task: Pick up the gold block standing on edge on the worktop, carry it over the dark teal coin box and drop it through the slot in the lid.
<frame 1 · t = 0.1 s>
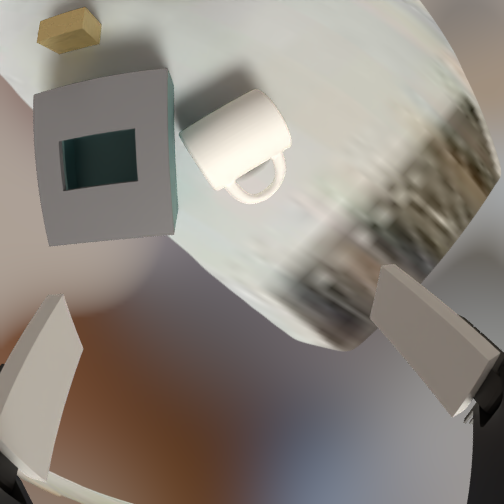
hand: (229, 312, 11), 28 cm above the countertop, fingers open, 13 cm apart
coin box: (120, 152, 32), on the countertop
gold block: (79, 39, 25), on the countertop
mug: (238, 151, 36), on the countertop
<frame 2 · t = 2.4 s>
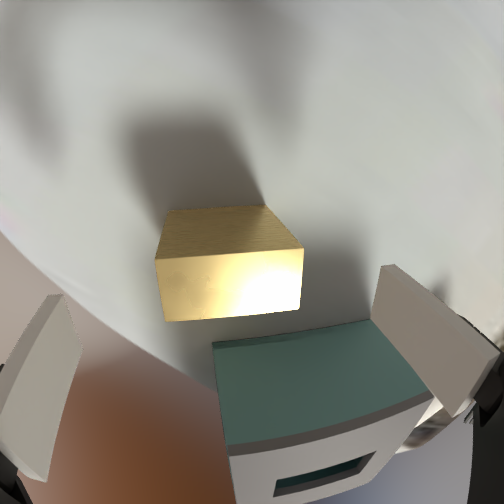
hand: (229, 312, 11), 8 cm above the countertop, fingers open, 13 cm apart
coin box: (290, 392, 26), on the countertop
gold block: (218, 230, 18), on the countertop
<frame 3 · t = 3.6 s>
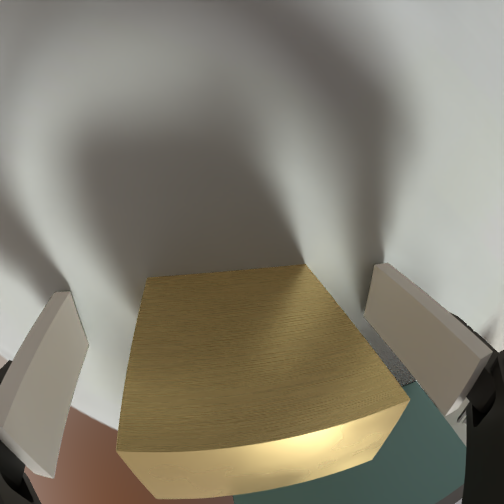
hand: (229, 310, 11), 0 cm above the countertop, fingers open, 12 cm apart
coin box: (313, 461, 19), on the countertop
gold block: (229, 305, 11), on the countertop
mug: (438, 412, 22), on the countertop
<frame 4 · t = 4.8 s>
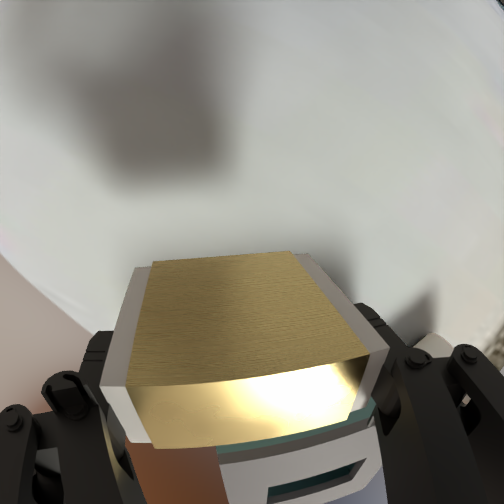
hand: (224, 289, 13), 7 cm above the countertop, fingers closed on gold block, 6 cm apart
coin box: (281, 403, 26), on the countertop
gold block: (223, 286, 13), point 6 cm above the countertop, touching gripper
mug: (397, 372, 30), on the countertop
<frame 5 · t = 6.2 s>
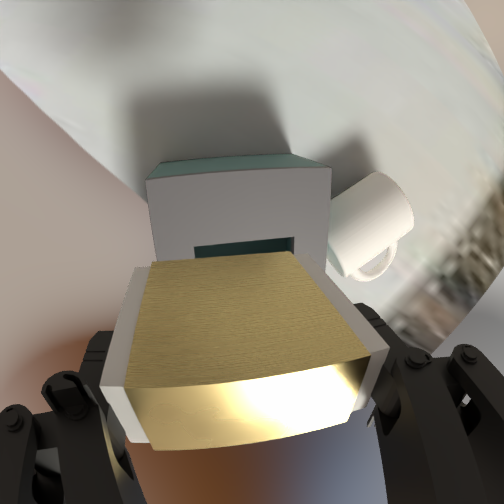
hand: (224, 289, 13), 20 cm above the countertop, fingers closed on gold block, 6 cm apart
coin box: (231, 227, 33), on the countertop
gold block: (223, 287, 13), point 20 cm above the countertop, touching gripper
mug: (349, 224, 36), on the countertop
when the fingers open (11 cm above the countertop, at t = 7.7 s): gold block drops 9 cm, resting on coin box.
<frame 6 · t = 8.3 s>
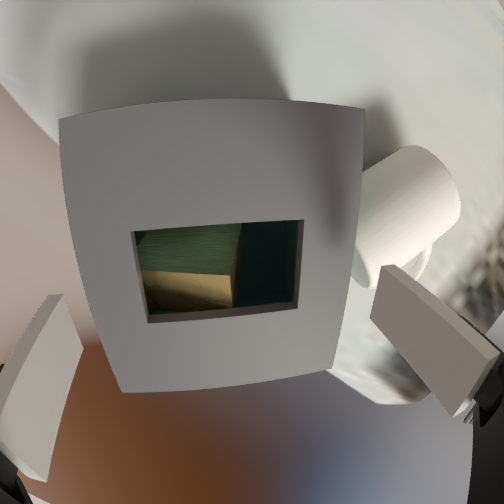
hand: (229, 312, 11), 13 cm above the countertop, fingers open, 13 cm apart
coin box: (208, 216, 23), on the countertop
gold block: (204, 227, 21), point 2 cm above the countertop, tilted 20°, touching coin box
mug: (369, 218, 26), on the countertop
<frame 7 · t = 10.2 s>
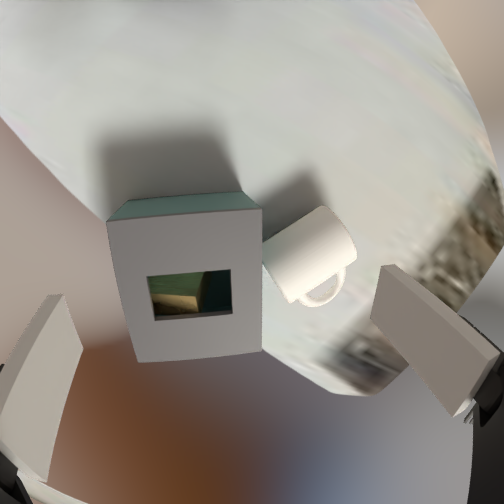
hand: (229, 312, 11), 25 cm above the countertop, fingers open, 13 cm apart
coin box: (189, 257, 37), on the countertop
gold block: (186, 265, 35), point 2 cm above the countertop, tilted 20°, touching coin box
mug: (300, 254, 40), on the countertop
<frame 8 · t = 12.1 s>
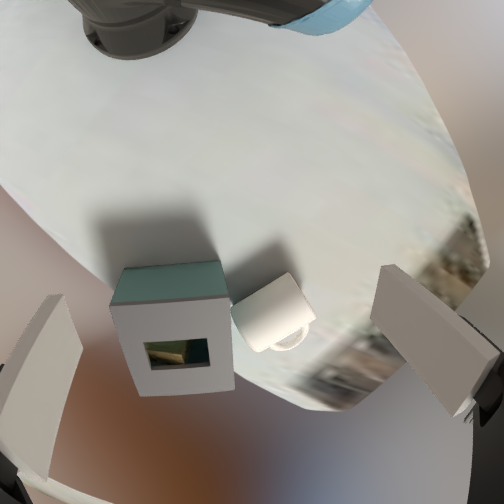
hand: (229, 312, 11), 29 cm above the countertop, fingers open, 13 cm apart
coin box: (178, 311, 43), on the countertop
gold block: (175, 320, 42), point 2 cm above the countertop, tilted 20°, touching coin box
mug: (272, 306, 47), on the countertop
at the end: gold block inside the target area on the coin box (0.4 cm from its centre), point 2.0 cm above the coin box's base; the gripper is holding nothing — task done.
